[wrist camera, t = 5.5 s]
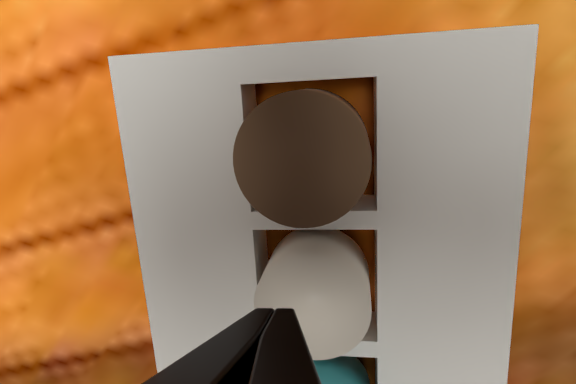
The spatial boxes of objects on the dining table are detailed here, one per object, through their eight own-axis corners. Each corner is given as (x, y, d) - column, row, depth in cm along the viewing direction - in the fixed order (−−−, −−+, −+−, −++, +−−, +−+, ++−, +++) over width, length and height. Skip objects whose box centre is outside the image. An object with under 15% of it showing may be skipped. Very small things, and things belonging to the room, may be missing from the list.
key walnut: (368, 85, 16) (371, 86, 13) (369, 201, 17) (372, 228, 14) (250, 91, 16) (226, 94, 13) (259, 202, 18) (238, 228, 15)
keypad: (511, 32, 16) (538, 23, 14) (481, 442, 21) (497, 487, 19) (138, 59, 19) (107, 56, 17) (189, 419, 24) (170, 457, 22)
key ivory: (368, 225, 18) (371, 254, 15) (369, 318, 19) (372, 363, 16) (266, 225, 19) (249, 253, 16) (272, 315, 20) (258, 357, 17)
